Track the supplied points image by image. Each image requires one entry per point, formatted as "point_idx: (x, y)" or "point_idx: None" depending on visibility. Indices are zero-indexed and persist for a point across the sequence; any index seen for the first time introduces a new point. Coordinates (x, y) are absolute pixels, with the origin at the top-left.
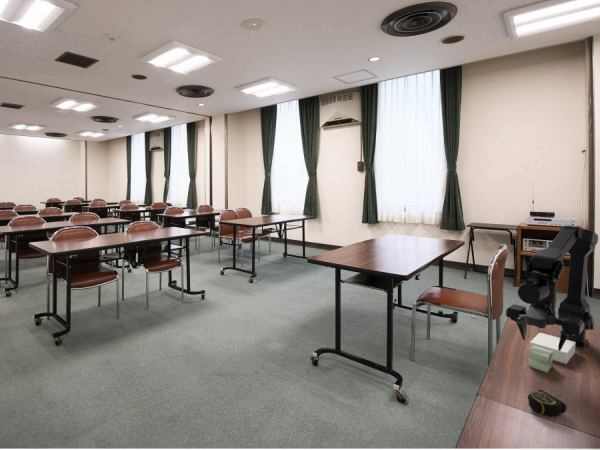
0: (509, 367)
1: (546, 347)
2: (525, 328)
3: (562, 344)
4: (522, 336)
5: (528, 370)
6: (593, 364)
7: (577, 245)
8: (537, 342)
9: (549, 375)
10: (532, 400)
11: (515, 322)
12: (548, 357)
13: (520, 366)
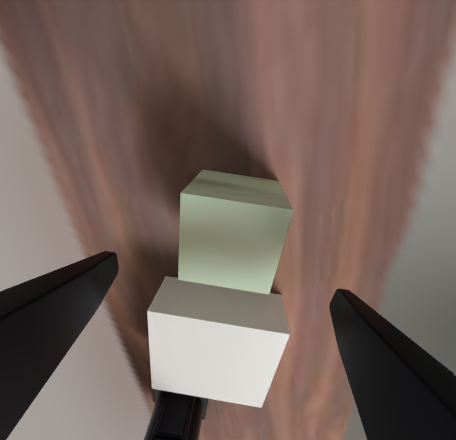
0: (363, 102)
1: (223, 321)
2: (381, 418)
3: (32, 279)
4: (371, 310)
5: (272, 135)
6: (109, 310)
7: None
8: (260, 342)
9: (189, 147)
10: None
11: None
12: (182, 201)
13: (309, 153)
